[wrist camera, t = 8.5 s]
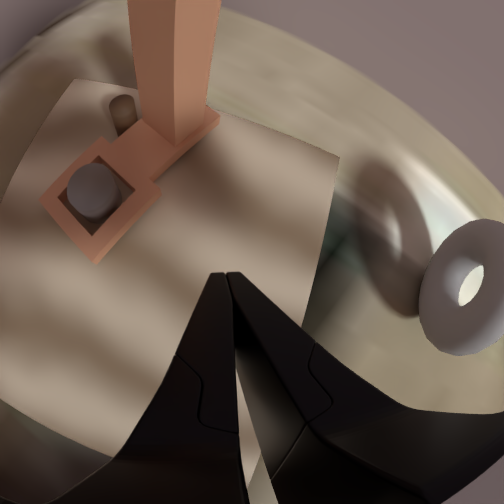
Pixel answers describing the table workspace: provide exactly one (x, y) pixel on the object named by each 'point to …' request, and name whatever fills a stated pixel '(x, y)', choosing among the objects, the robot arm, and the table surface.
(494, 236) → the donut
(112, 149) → the pink l-shaped piece
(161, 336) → the board
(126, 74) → the table surface
